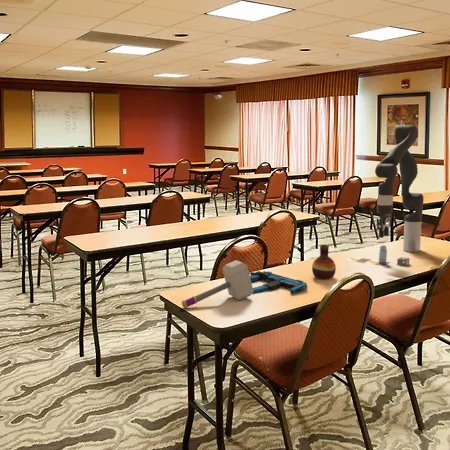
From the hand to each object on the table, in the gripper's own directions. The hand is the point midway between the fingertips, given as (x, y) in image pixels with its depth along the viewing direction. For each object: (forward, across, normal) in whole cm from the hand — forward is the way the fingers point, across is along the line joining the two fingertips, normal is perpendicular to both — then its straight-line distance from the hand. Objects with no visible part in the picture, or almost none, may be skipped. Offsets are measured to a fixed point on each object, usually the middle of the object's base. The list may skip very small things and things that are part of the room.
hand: (383, 236), depth 272 cm
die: (+16, -4, +9) cm, 19 cm away
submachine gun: (+16, +64, -28) cm, 72 cm away
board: (+16, 0, -8) cm, 17 cm away
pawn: (+14, 0, 0) cm, 14 cm away
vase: (+16, +37, -14) cm, 43 cm away
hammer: (+16, +96, -31) cm, 102 cm away
